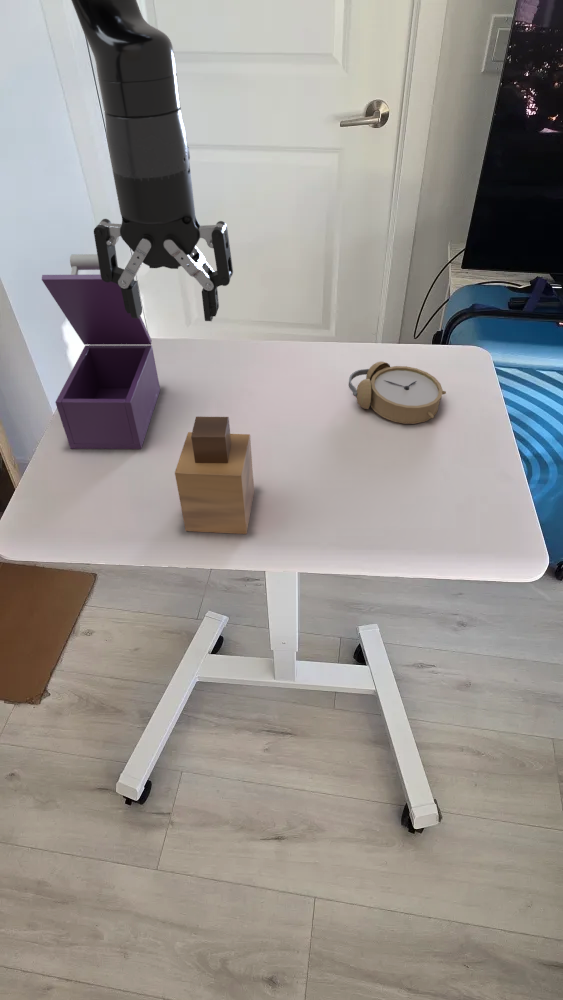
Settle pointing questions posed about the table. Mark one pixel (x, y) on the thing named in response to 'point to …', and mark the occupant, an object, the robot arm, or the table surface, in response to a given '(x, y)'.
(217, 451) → the block
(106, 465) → the table surface
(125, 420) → the box
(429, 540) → the table surface
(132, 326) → the lid
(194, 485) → the stand
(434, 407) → the alarm clock
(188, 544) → the table surface
